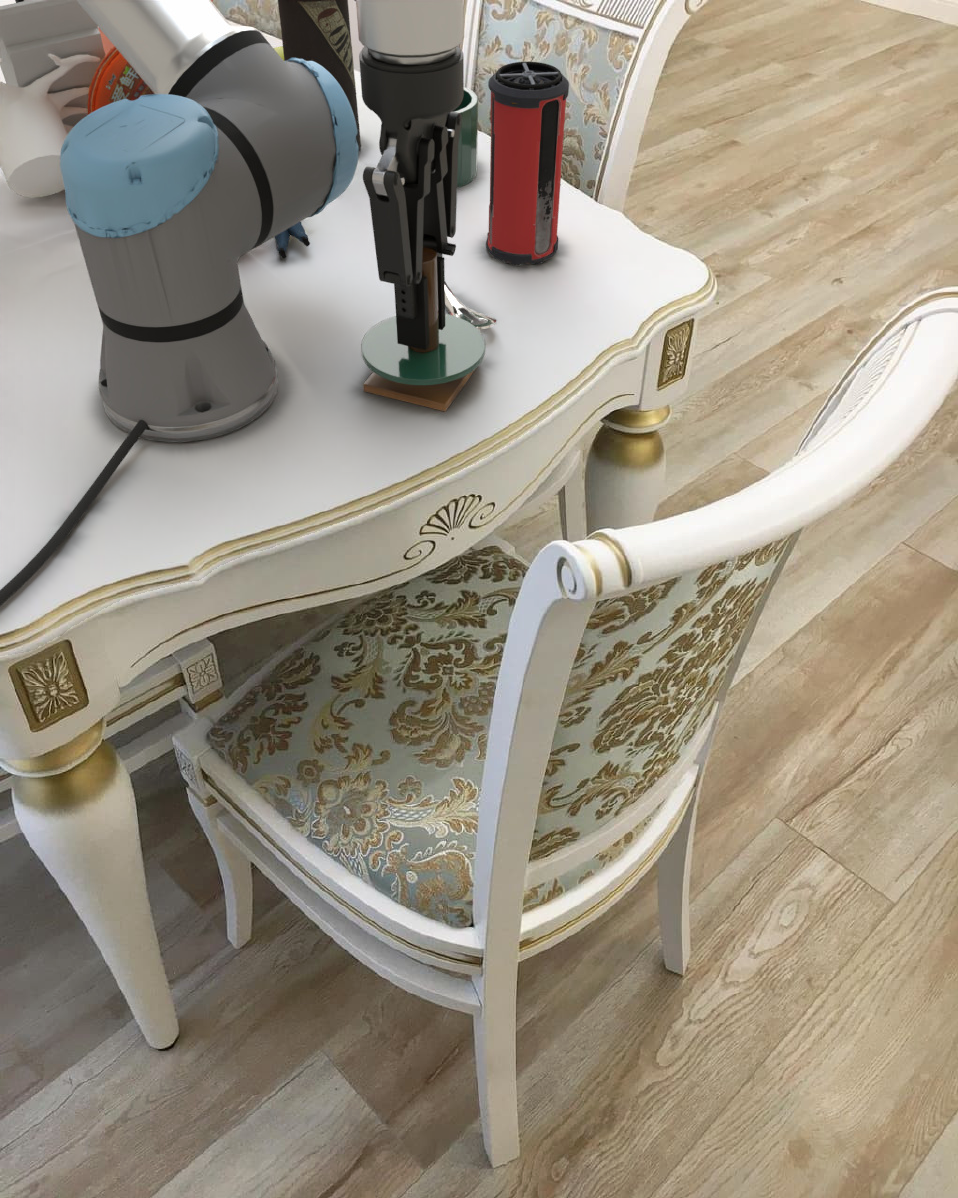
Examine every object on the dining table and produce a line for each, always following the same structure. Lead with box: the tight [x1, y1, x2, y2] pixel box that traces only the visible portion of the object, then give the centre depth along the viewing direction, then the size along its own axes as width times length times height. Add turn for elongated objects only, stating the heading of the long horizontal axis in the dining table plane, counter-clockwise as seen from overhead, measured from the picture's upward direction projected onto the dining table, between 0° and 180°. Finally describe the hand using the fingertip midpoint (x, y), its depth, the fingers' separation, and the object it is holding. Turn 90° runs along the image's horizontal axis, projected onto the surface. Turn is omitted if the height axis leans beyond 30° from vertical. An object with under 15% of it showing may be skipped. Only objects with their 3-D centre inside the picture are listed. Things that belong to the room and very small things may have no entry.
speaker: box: [485, 61, 570, 267], centre depth 104 cm, size 8×8×18 cm
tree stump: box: [0, 54, 100, 199], centre depth 115 cm, size 20×19×8 cm
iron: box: [0, 0, 106, 126], centre depth 117 cm, size 11×24×15 cm
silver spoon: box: [445, 281, 498, 330], centre depth 103 cm, size 20×4×5 cm
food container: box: [87, 46, 154, 115], centre depth 116 cm, size 16×16×11 cm
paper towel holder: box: [360, 247, 486, 385], centre depth 89 cm, size 11×11×10 cm
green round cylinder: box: [452, 86, 479, 189], centre depth 121 cm, size 10×10×8 cm
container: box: [277, 0, 362, 153], centre depth 121 cm, size 9×9×20 cm
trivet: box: [362, 368, 477, 412], centre depth 94 cm, size 8×8×1 cm
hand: (421, 334), depth 91 cm, fingers closed on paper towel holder, 3 cm apart
